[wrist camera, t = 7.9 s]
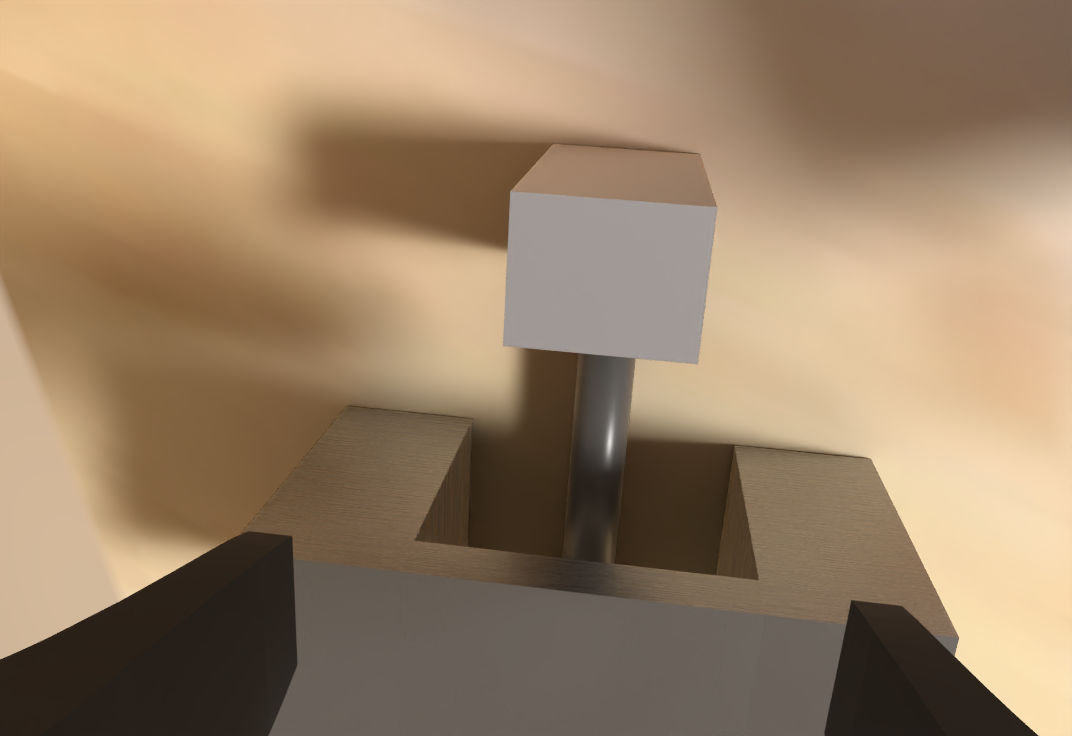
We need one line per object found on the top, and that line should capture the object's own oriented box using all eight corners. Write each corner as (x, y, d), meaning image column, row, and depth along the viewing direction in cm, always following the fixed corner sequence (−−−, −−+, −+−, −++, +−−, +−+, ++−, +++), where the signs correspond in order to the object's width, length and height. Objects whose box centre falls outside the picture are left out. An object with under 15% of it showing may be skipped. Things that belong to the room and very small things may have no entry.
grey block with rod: (724, 156, 19) (752, 210, 13) (646, 784, 25) (642, 1007, 19) (529, 142, 19) (476, 188, 14) (496, 764, 25) (450, 977, 19)
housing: (871, 459, 21) (959, 637, 15) (836, 628, 22) (903, 853, 16) (346, 405, 22) (226, 551, 16) (349, 570, 23) (241, 759, 17)
